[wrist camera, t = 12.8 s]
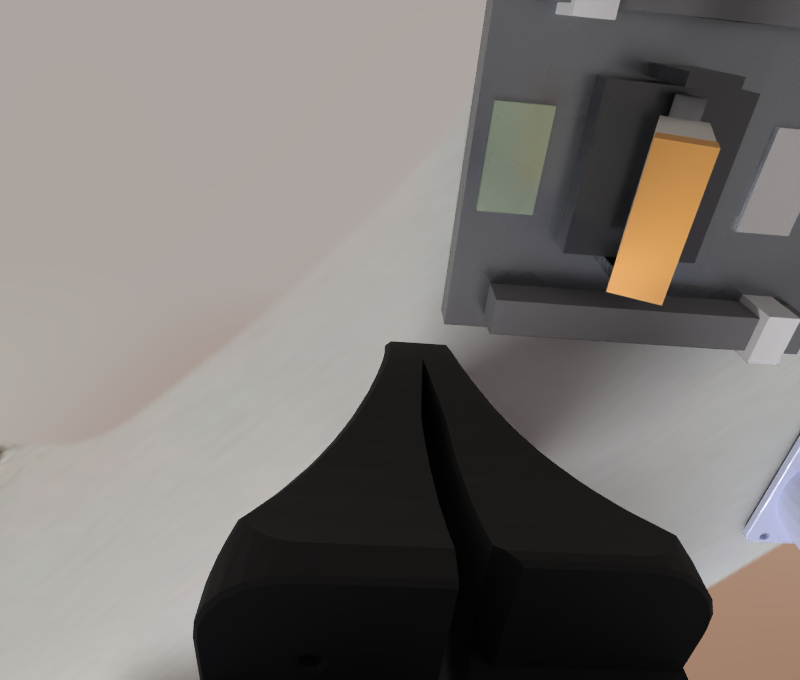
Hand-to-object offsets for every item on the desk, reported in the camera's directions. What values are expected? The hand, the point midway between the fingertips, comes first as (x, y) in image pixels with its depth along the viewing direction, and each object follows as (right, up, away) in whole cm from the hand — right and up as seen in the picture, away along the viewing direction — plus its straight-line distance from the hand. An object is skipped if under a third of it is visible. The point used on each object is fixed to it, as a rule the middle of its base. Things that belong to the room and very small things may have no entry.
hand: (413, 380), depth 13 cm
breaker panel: (+9, +7, +8) cm, 14 cm away
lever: (+8, +6, +5) cm, 11 cm away
